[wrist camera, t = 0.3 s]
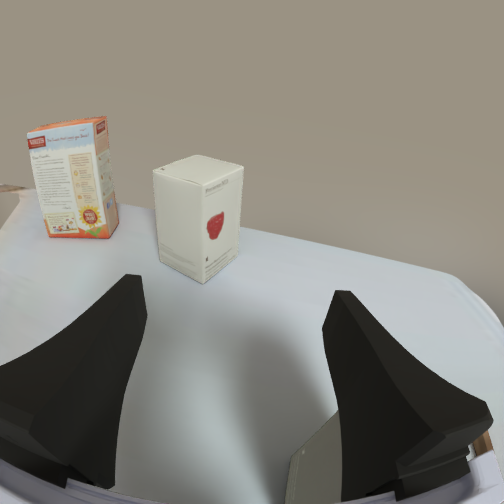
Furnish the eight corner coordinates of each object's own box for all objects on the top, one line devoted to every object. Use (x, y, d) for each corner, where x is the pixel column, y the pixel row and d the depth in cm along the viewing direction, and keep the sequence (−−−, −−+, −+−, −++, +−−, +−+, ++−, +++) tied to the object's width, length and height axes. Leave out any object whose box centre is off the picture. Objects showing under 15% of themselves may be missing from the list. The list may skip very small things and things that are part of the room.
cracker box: (120, 223, 54) (108, 114, 42) (109, 240, 49) (92, 122, 37) (61, 222, 53) (43, 123, 41) (48, 238, 48) (25, 132, 36)
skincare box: (289, 456, 23) (345, 371, 14) (361, 459, 22) (455, 374, 13) (278, 536, 16) (341, 535, 7) (358, 535, 16) (477, 507, 6)
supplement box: (203, 286, 42) (201, 185, 33) (158, 262, 45) (149, 169, 36) (240, 256, 48) (246, 165, 39) (196, 236, 52) (196, 152, 43)
